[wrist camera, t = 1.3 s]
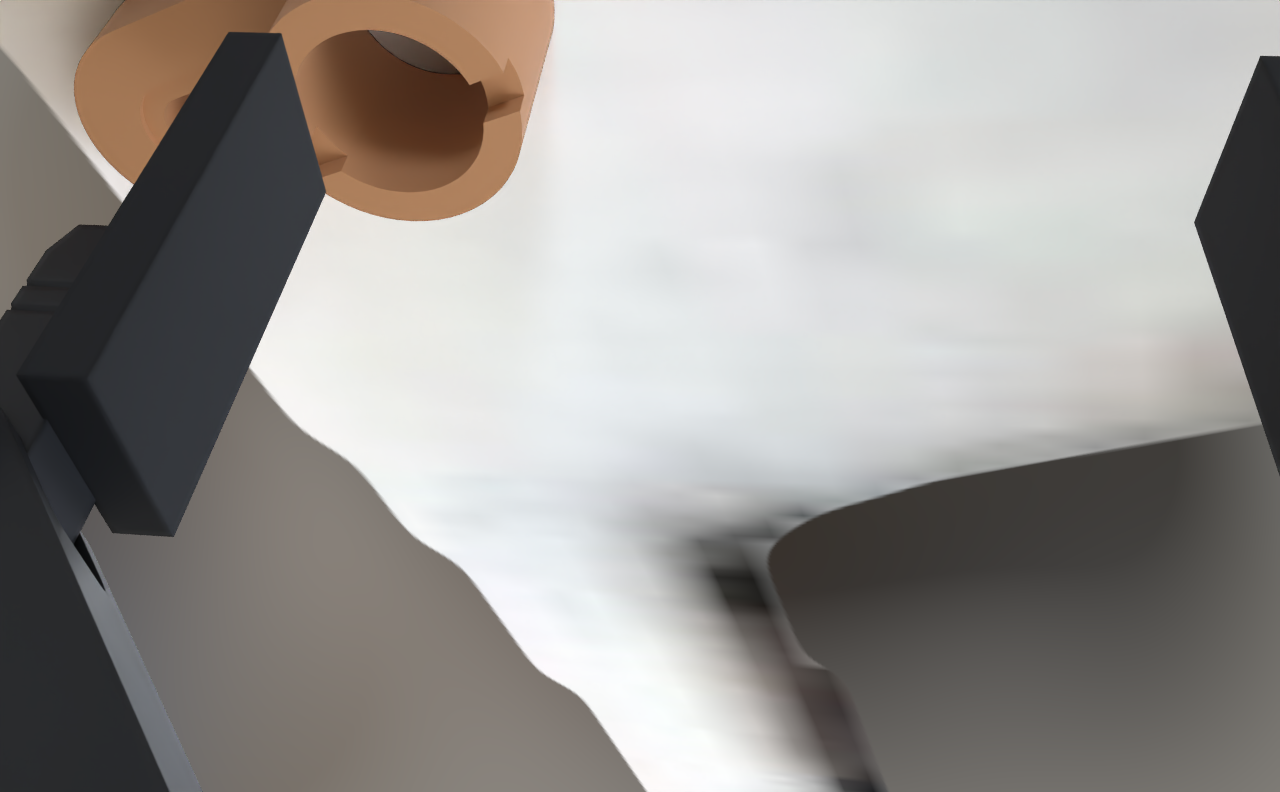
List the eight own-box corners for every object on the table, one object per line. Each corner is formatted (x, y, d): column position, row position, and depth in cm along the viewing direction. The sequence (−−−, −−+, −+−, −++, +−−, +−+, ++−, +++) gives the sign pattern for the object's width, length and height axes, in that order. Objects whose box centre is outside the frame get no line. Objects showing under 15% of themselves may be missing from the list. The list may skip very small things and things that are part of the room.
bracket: (479, -157, 37) (432, -49, 32) (593, 62, 43) (567, 181, 38) (56, 26, 44) (-33, 138, 39) (202, 196, 49) (139, 312, 44)
